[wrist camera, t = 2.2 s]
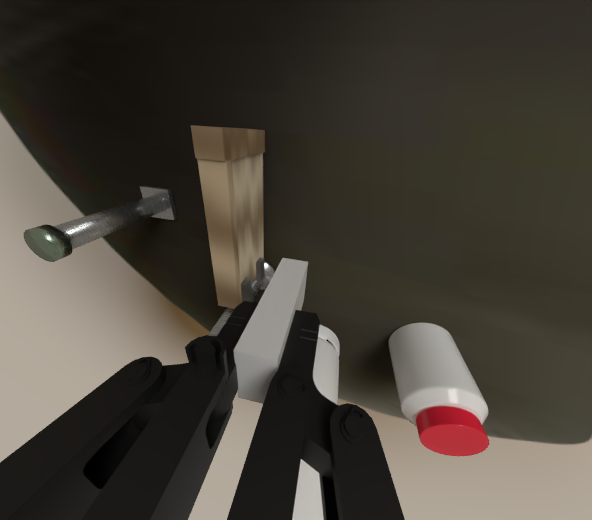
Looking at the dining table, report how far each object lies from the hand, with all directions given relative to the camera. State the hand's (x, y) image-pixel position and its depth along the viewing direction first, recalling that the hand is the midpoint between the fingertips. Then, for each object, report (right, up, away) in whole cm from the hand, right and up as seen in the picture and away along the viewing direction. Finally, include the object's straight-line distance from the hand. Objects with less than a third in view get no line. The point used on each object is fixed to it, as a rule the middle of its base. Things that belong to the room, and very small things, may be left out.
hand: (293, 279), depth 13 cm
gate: (-4, +7, +10) cm, 13 cm away
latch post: (-16, +8, +13) cm, 23 cm away
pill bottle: (+17, -10, +16) cm, 25 cm away
